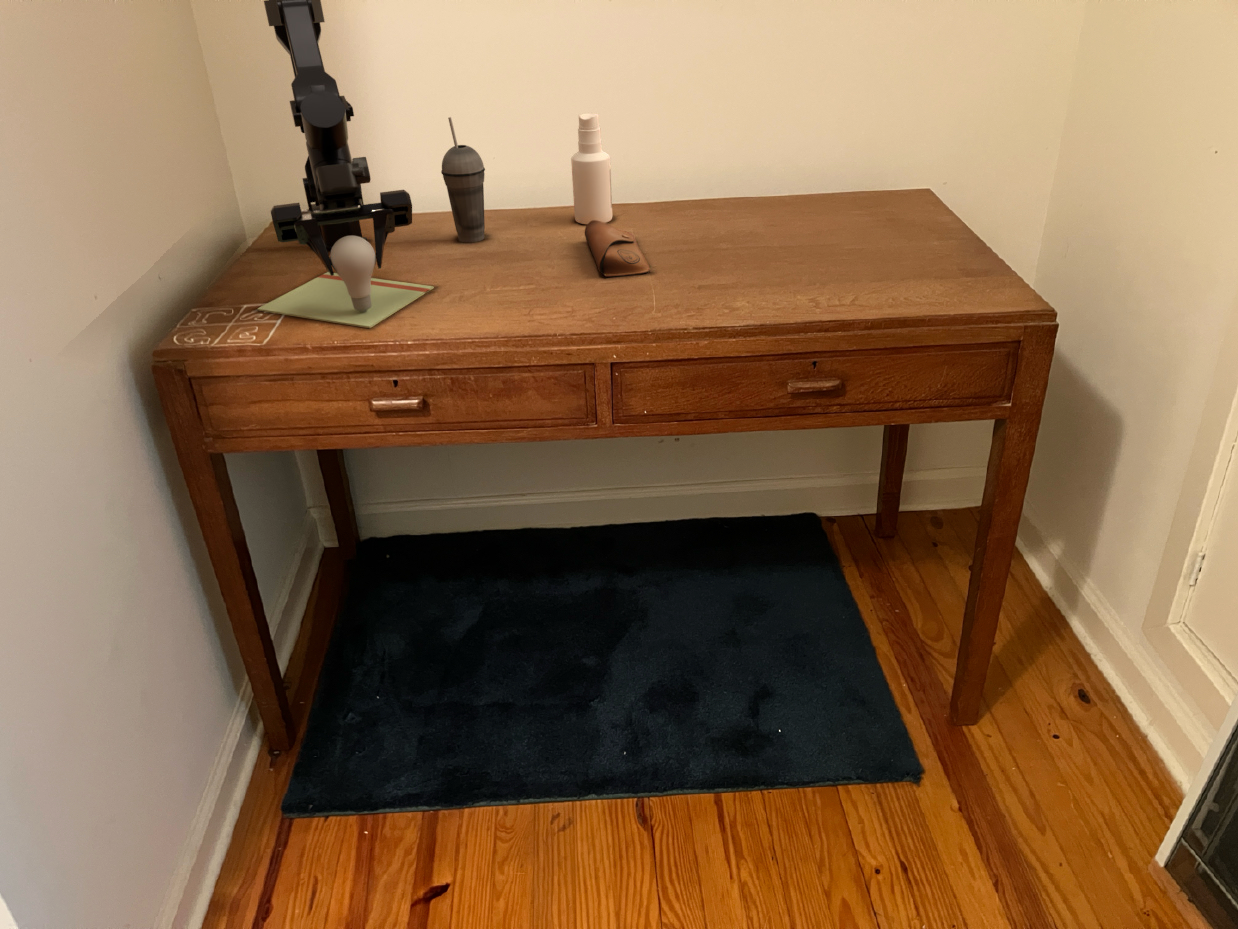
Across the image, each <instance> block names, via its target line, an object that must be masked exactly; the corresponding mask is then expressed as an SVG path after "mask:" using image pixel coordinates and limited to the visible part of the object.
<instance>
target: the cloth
mask: <svg viewBox="0 0 1238 929" xmlns="http://www.w3.org/2000/svg"><path fill="white" fill-rule="evenodd" d="M333 273H334V275H332V276H331V275H330V273H329V272H328V271H327V272H325V273H323V274H321V275H319V276H317V277H315V278H313V279H311V280H310V281H308V282H306V283H304V284H301V285H300V286H298V287H296V288H294V289H292V290H290V291H288V292H286V293H285V294H283V295H281V296H278V297H276V298H275V299H273V300H271V301H269V302H267V303H265V304H263V305H261V306H260V307H257V311H258V312H264V313H272V314H277V315H283V316H284V315H285V316H291V317H296V318H297V317H298V318H303V319H308V320H315V321H322V322H327V323H334V324H339V325H346V326H351V327H352V326H353V327H359V328H366V329H371V328H373V327H374V326H376V325H378V324H379V323H381V322H382V321H384V320H386V319H387V318H389V317H391V316H392V315H394V314H396V312H398V311H401V309H403V308H405V307H407V306H408V305H409V304H411V303H413V302H414V301H416V300H417V299H419V298H420V297H422V296H424V295H425V294H427V293H429V292H430V291H432V290H434V287H435V286H434V285H427V284H419V283H412V282H404V281H398V280H397V281H396V280H389V279H382V278H375V277H371V293H370V297H371V307H370V308H369V309H367V311H366V312H360V311H359V310H356V309H354V307H353V303H352V300H351V296H349V294H348V290H347V287H346V285H345V283H344V281H343V280H342V279H341V277H340V276H339V275H338V274H337V273H336V272H333Z"/></svg>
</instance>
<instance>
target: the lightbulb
mask: <svg viewBox="0 0 1238 929" xmlns="http://www.w3.org/2000/svg"><path fill="white" fill-rule="evenodd" d="M329 258H330V260H331V264H332V268H333V271H335V273H337V274H338V275H339V276H340V277H341V279H342V280H343V281H344V283H345V285H346V287H347V290H348V294H349V296H351V300H352V303H353V307H354V309H356V310H359V311H360V312H366V311H367V309H369V308H370V307H371V297H370V293H371V278H372V277H373V273H374V271H375V268H376V265H377V262H376V251H375V248H374V247H373V246H372V244H371V243H370V242H369V241H368V240H367V241H366V240H365V239H363V238H361V237H358V236H345V237H343V238H341V239H339V240H338V241H337V242H335V244H334V245H333V247H332V249H331V250H330V254H329Z"/></svg>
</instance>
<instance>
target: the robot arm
mask: <svg viewBox="0 0 1238 929" xmlns="http://www.w3.org/2000/svg"><path fill="white" fill-rule="evenodd" d="M263 4H264V9H265V13H266V14H265V15H266V18H267V22H268V26H269V27H273V29H274V34H275V38H276V40H277V42H278V44H280V45H281V46H282V48H283V50H285V52H287V54H288V55H289V56H290V57H289V58H290V62H291V67H292V71H293V76H294V79H292V82H291V84H290V85H291V90H292V96H293V100H292V99H291V100H289V105H290V110H291V114H292V121H293V125H294V127H295V128H298V127H299V129H300V132H301V133H302V134H304V138H305V145H306V151H307V154H308V155H307V158H306V161H305V165H304V172H305V176H306V177H303V178H301V179H302V183H303V189H304V193H305V199H306V203H307V208H305V209H301V204H300V202H291V203H286V204H285V203H284V204H277V205H273V206H272V208H271V209H270V216H271V220H272V224H273V228H274V232H275V235H276V239H277V242H280V243H290V242H298V244H299V245H300V246H301V245H302V246H303V245H304V246H305V245H306V246H308V248H309V249H310V250H311V251H312V252H313V253H314V254H315V255H316V256H317V257H318V259H319V260H320V262H321V264H322V265H323V266H324V267H325V269H326V271H327V272H329V273H330V275H331V276H332V275H334V273H335V272H334V269H333V266H332V264H331V260H330V254H329V252H328V250H329V251H331V249H332V247H333V245H334V244H335V242H337V241H338V240H339V239H341V238H343V237H345V236H358V237H361V238H363V239H365V240H366V241H367V242H368V237H366V236H363V235H362V234H363V232H362V229H361V223H360V221H363V220H370V219H372V225H373V235H374V237H373V238H374V251H375V254H376V266H377V269H382V266H383V257H384V250H385V245H386V241H387V238H388V235H389V234H392V233H394V232H395V231H396V228H400V227H408V226H410V225H412V224H413V202H412V199H411V195H410V193H409V192H408V191H406V190H405V189H398V190H397V189H396V190H390V191H381V192H379V198H380V202H373V203H366V204H365V203H364V198H363V192H362V185H364V184H370V183H371V174H370V169H369V165H368V160H367V156H361V157H360V156H359V157H352V155H351V151H350V146H349V145H350V144H349V130H348V122H351V121H352V118H351V117H355V112H354V108H353V106H352V104H351V103H349V101H348V100H347V99H346V97H345V95H340V90H339V87H338V84H337V81H336V79H335V78H334V77H333V76H331V75H330V74H329V73H328V72H327V71H325V70H326V69H325V65H324V62H323V58H322V54H321V50H320V49H321V48H320V46H319V43H320V40H321V38H322V37H321V36H322V27H321V23H325V22H326V21H325V15H324V12H323V5H322V1H321V0H263Z"/></svg>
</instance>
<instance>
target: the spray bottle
mask: <svg viewBox="0 0 1238 929" xmlns="http://www.w3.org/2000/svg"><path fill="white" fill-rule="evenodd" d="M601 134H602V132H601V126H600V116H599V114H598V113H593V112H587V113H586V112H585V113H580V114H578V128H577V135H578V136H577V137H578V138H577V139H578V142H577V146H578V147H577V148H578V151H577V152H576V153H574V154H573V155H572V156H571V158H570V162H571V178H572V179H571V181H572V194H573V210H574V213H573V214H574V220H575V222H576V223H578V224H582V225H587V224H588V223H589V222H590V221H592V220H597V221H601V222H604V223H609V222H611V221H612V219H613V194H612V192H613V191H612V168H611V156H610V154H609V153H607V152H605V151H604V150H603V143H602V135H601Z"/></svg>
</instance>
